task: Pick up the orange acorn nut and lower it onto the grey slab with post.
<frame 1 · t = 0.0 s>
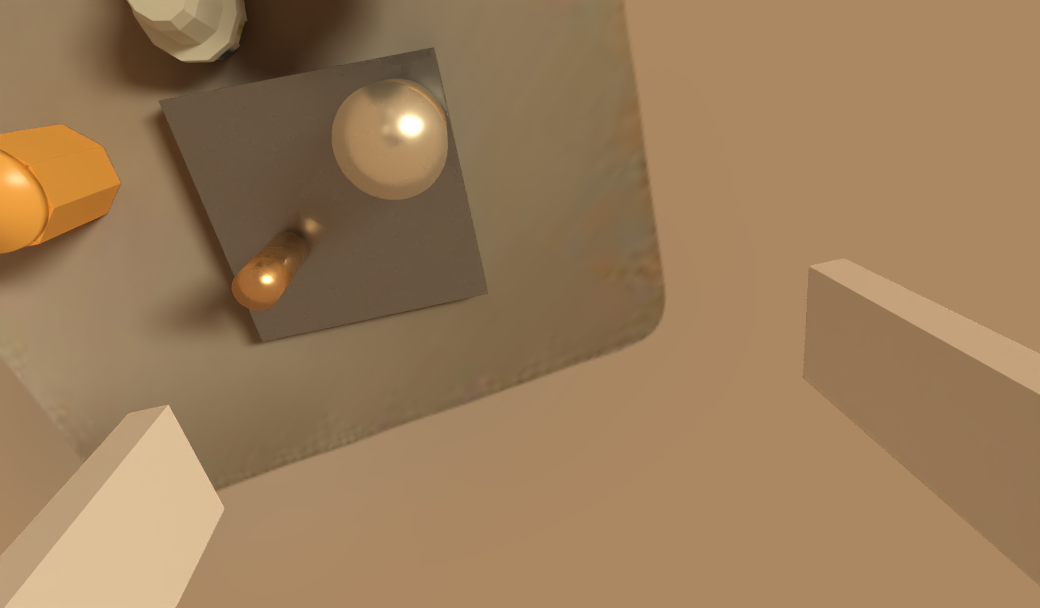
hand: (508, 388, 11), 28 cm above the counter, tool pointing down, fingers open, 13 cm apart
grey slab with post: (345, 200, 37), on the counter
orange acorn nut: (66, 174, 34), on the counter
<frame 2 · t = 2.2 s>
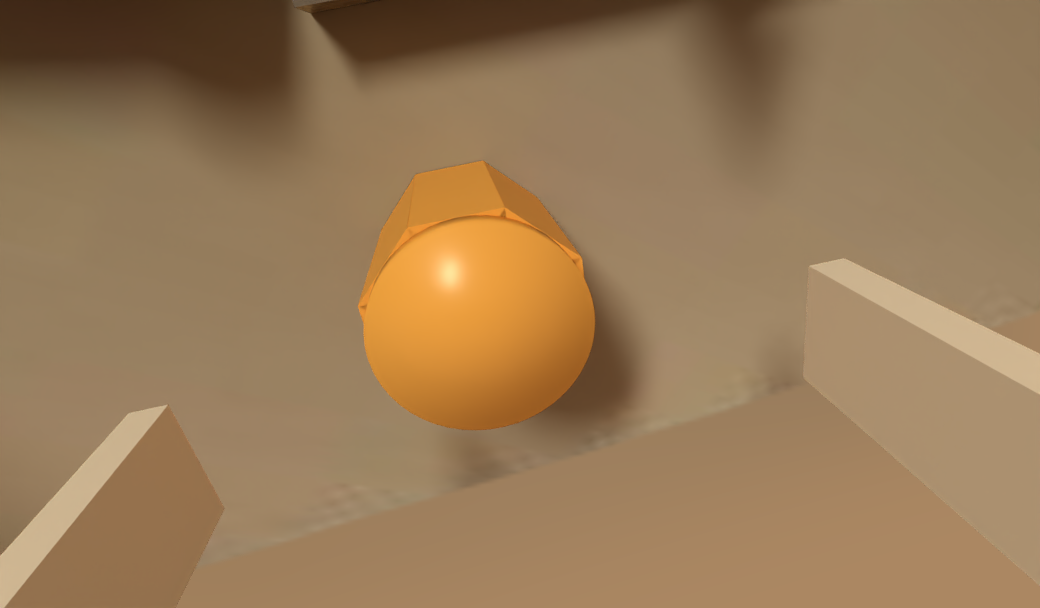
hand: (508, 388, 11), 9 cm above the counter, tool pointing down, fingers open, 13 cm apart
orange acorn nut: (466, 244, 20), on the counter
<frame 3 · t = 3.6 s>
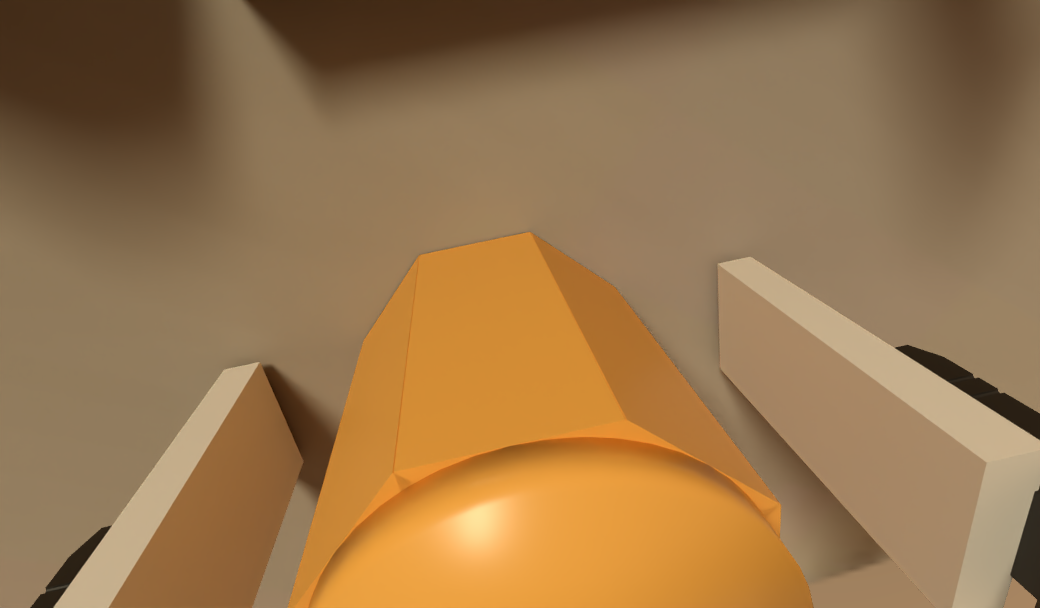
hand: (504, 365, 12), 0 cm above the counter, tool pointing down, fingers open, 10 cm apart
orange acorn nut: (500, 359, 12), on the counter
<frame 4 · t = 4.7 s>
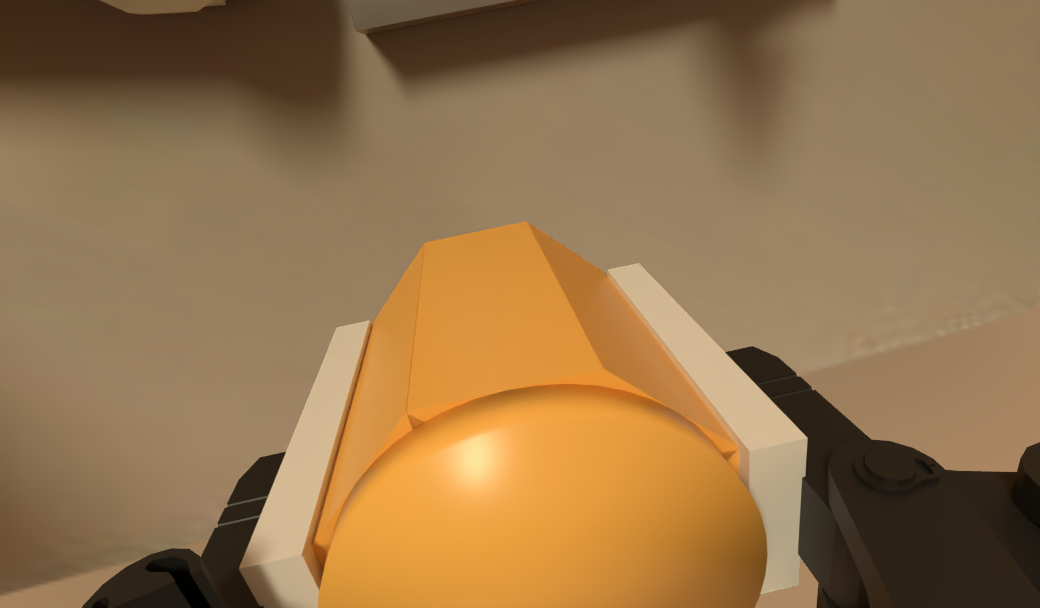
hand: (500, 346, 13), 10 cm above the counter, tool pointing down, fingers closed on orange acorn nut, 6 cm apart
orange acorn nut: (499, 340, 13), point 10 cm above the counter, touching gripper
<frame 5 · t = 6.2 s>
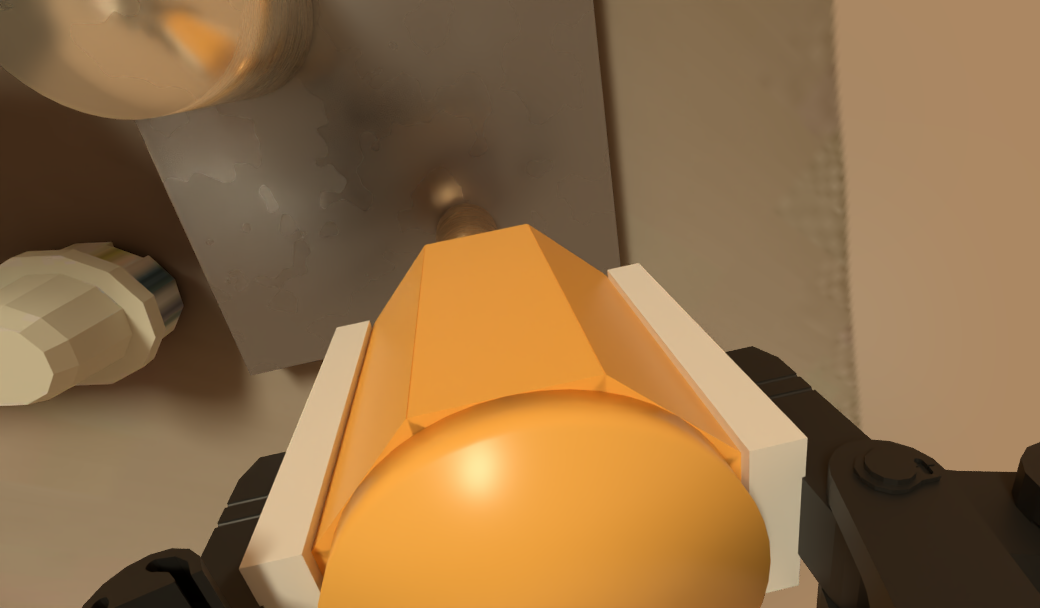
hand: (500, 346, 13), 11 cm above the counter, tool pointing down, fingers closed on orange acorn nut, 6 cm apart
grey slab with post: (392, 133, 21), on the counter
orange acorn nut: (500, 343, 13), point 11 cm above the counter, touching gripper
when the fingers open (4 cm above the counter, at t = 7.8 s): orange acorn nut drops 1 cm, resting on grey slab with post.
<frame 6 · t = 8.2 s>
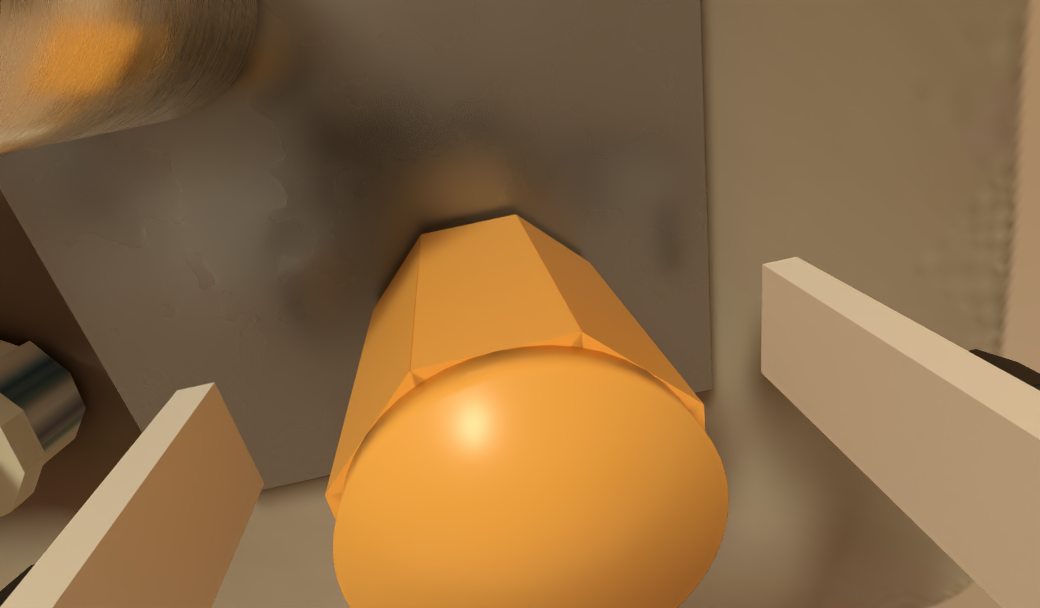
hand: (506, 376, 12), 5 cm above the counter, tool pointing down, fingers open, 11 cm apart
grey slab with post: (387, 168, 15), on the counter
orange acorn nut: (491, 326, 14), point 3 cm above the counter, touching grey slab with post
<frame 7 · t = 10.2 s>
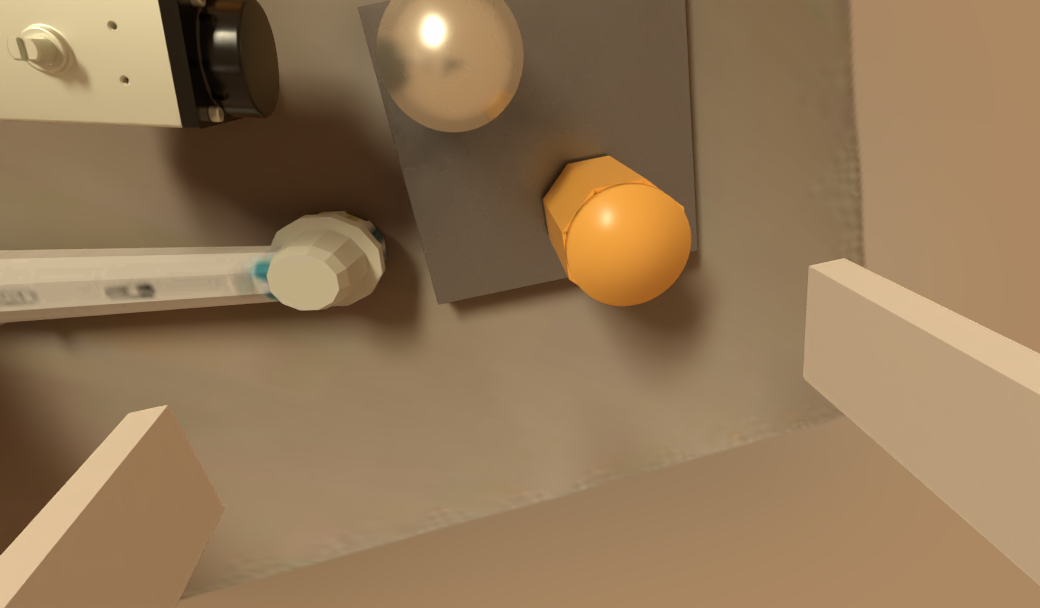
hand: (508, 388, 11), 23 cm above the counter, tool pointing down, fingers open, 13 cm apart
white handheld device: (176, 258, 33), on the counter
grey slab with post: (542, 138, 31), on the counter
orange acorn nut: (594, 209, 31), point 3 cm above the counter, touching grey slab with post
pneumatic valve: (193, 45, 28), on the counter
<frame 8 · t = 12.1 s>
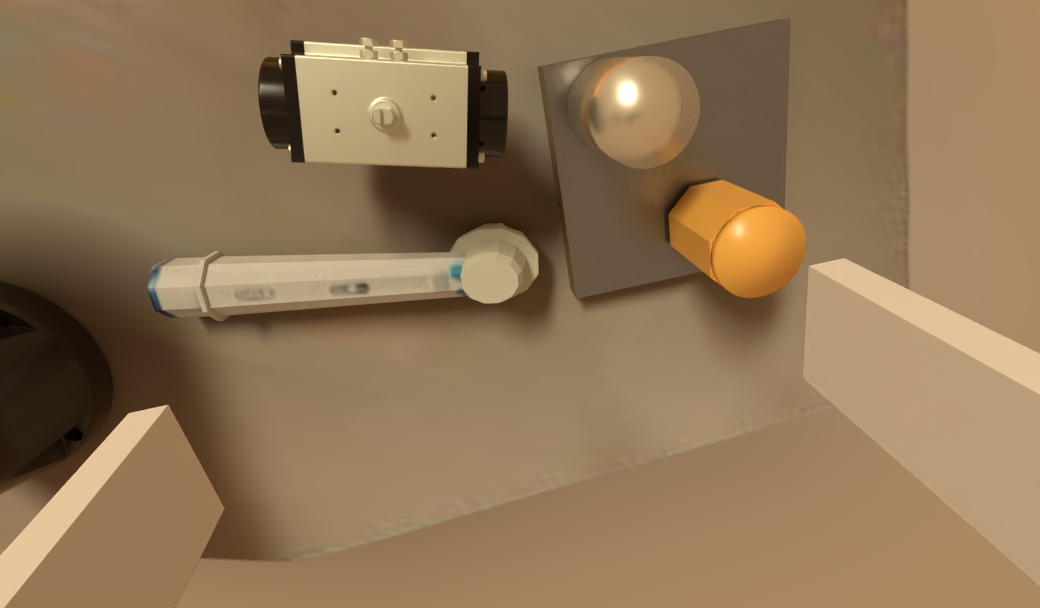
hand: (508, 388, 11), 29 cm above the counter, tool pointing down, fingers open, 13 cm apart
white handheld device: (360, 262, 40), on the counter
grey slab with post: (664, 164, 39), on the counter
orange acorn nut: (707, 221, 39), point 3 cm above the counter, touching grey slab with post
pneumatic valve: (401, 93, 35), on the counter
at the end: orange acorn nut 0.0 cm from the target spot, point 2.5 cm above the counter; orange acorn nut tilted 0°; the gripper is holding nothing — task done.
